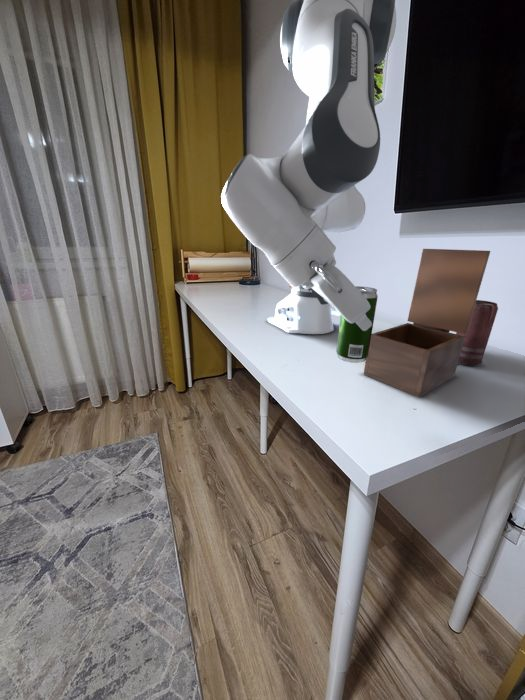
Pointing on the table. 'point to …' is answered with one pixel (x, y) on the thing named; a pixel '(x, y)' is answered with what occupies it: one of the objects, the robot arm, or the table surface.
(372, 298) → the beer can
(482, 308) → the can
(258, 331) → the table surface
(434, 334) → the chest
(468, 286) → the lid
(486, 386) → the table surface
